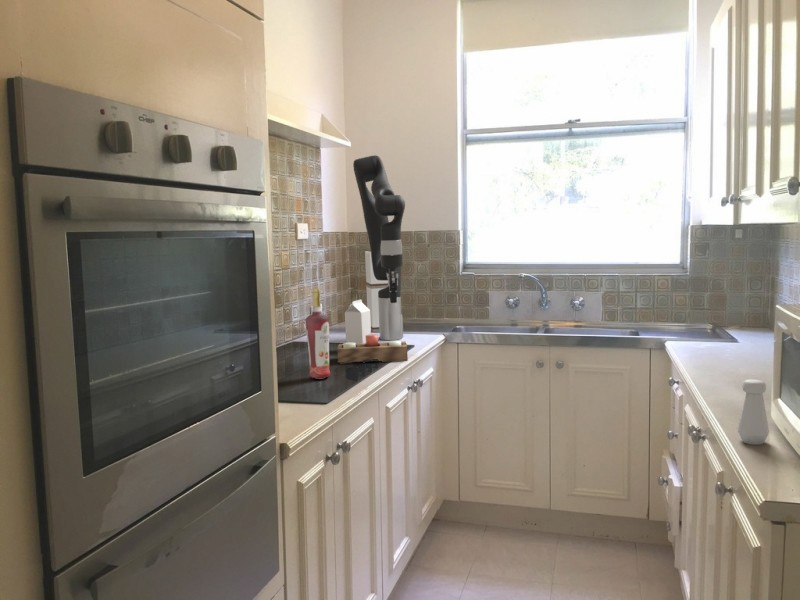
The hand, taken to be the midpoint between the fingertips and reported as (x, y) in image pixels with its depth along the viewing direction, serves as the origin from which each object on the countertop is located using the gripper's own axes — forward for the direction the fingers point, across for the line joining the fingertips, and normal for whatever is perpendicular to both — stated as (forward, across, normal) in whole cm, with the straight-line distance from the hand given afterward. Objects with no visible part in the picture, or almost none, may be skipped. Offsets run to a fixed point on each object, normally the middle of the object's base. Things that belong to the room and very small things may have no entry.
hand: (393, 302), depth 240 cm
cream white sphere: (+17, +1, 0) cm, 17 cm away
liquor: (+20, +27, -25) cm, 42 cm away
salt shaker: (+19, +104, +69) cm, 127 cm away
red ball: (+15, +1, -8) cm, 17 cm away
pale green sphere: (+17, +1, -16) cm, 24 cm away
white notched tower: (+20, -65, -3) cm, 68 cm away
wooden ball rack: (+20, +1, -8) cm, 21 cm away
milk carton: (+20, -17, -13) cm, 29 cm away
